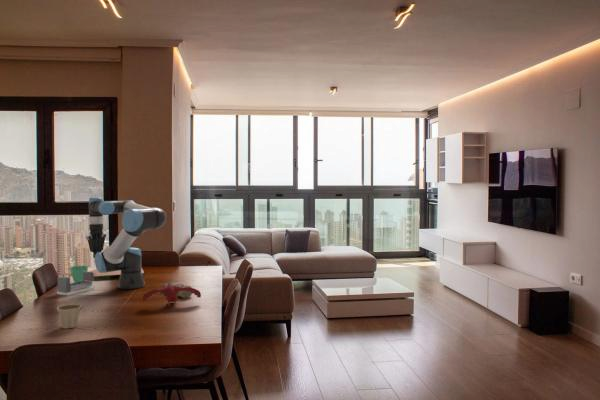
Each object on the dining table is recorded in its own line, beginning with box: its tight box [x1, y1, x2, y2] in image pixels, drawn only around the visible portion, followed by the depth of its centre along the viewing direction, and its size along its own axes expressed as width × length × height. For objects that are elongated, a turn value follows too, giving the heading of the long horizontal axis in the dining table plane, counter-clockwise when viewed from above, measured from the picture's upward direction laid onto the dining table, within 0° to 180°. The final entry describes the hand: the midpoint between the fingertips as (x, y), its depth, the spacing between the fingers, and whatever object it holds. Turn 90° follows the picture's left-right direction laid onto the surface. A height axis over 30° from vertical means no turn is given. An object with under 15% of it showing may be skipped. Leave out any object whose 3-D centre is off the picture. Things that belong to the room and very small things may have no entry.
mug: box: [69, 265, 89, 283], centre depth 310 cm, size 15×10×10 cm
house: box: [89, 268, 145, 280], centre depth 332 cm, size 23×33×8 cm
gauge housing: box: [56, 276, 95, 297], centre depth 286 cm, size 18×8×10 cm, turn 153°
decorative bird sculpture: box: [142, 286, 202, 307], centre depth 254 cm, size 28×9×15 cm
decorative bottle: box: [162, 281, 193, 299], centre depth 279 cm, size 26×8×7 cm, turn 43°
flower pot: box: [56, 304, 82, 329], centre depth 219 cm, size 9×9×9 cm
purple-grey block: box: [79, 271, 94, 284], centre depth 292 cm, size 5×8×8 cm, turn 63°
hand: (96, 263), depth 299 cm, fingers closed
